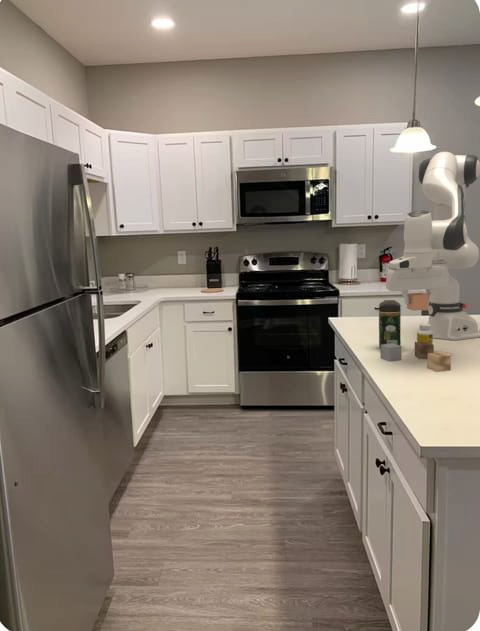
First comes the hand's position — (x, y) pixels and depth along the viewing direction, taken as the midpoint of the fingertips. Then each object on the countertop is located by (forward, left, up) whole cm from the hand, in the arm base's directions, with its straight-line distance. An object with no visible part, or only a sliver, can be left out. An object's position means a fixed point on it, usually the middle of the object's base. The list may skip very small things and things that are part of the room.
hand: (417, 303), depth 161 cm
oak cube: (-4, +8, -21) cm, 23 cm away
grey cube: (+6, -7, -21) cm, 23 cm away
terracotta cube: (0, 0, -2) cm, 2 cm away
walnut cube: (-6, -7, -21) cm, 23 cm away
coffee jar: (+1, -21, -21) cm, 30 cm away
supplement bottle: (-10, -15, -21) cm, 28 cm away
